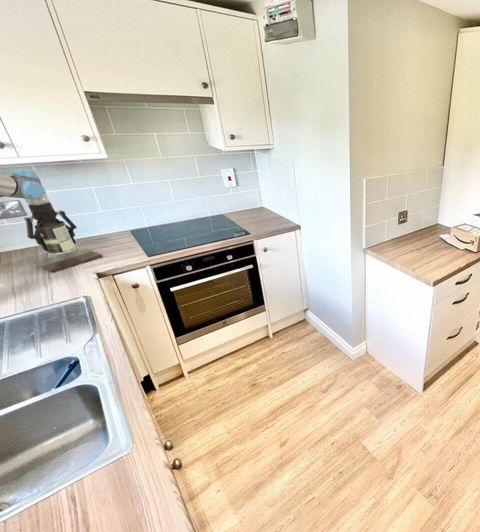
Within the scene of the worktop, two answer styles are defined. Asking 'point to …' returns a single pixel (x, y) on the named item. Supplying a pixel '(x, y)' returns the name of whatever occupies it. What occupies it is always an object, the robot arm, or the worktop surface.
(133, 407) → the worktop surface
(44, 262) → the serving board
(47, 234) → the coffee can
